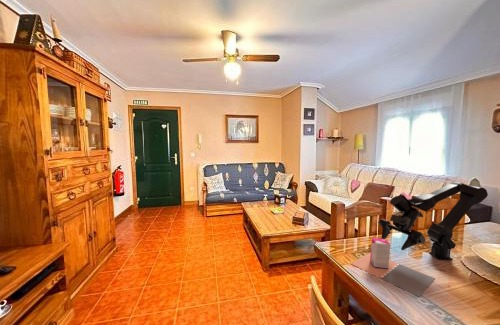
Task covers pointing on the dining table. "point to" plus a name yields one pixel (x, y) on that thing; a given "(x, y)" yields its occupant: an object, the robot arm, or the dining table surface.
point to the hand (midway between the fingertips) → (391, 245)
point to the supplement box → (380, 253)
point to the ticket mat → (397, 275)
